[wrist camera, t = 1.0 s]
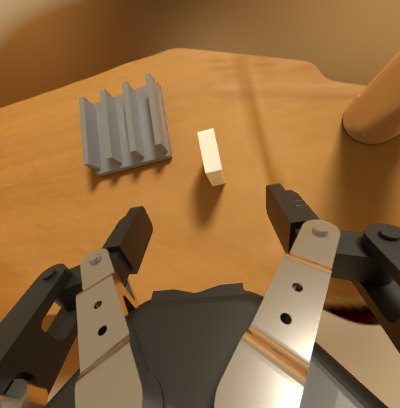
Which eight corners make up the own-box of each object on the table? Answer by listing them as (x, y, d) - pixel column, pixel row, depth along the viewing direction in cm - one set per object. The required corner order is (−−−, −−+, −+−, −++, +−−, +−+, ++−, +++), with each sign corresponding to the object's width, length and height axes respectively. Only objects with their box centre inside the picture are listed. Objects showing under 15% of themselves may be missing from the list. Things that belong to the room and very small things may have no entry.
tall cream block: (225, 183, 36) (221, 169, 27) (212, 186, 36) (205, 173, 27) (218, 151, 37) (213, 128, 28) (206, 154, 37) (197, 132, 29)
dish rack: (172, 157, 39) (163, 147, 34) (100, 176, 42) (82, 169, 37) (160, 86, 42) (151, 68, 37) (94, 109, 45) (77, 94, 40)
